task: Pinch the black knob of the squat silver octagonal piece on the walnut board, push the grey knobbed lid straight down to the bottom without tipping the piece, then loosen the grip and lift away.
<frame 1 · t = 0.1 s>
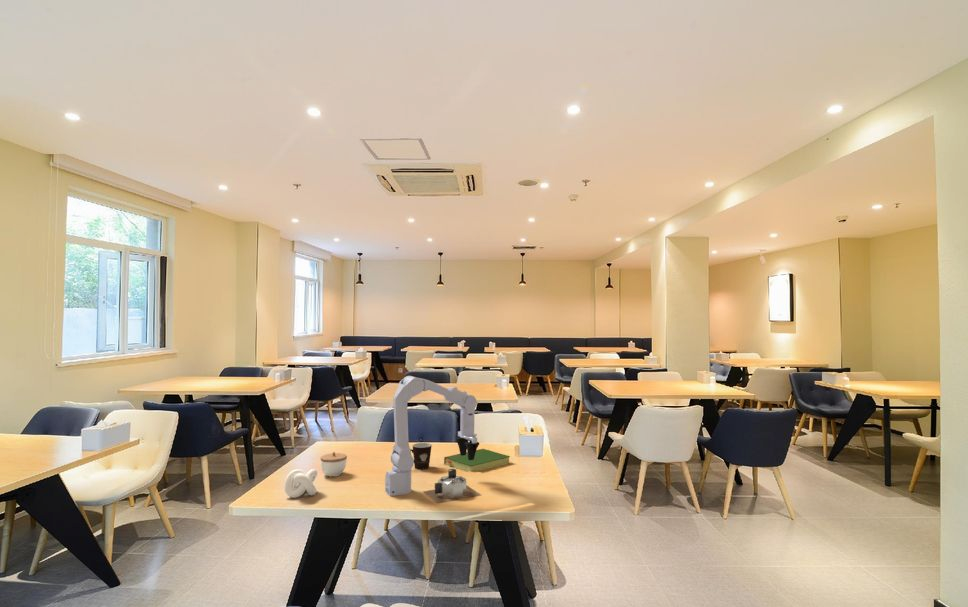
hand: (467, 457, 193), 10 cm above the table, tool pointing down, fingers open, 7 cm apart
coffee mug: (418, 467, 214), on the table
lidded jar: (333, 475, 202), on the table
hardcover book: (476, 465, 220), on the table
white knot ornament: (300, 495, 177), on the table
grey knobbed lid: (452, 476, 178), point 7 cm above the table, slide at 0.0 cm
serving board: (452, 495, 178), on the table
silver octagonal piece: (452, 493, 178), point 1 cm above the table, touching serving board
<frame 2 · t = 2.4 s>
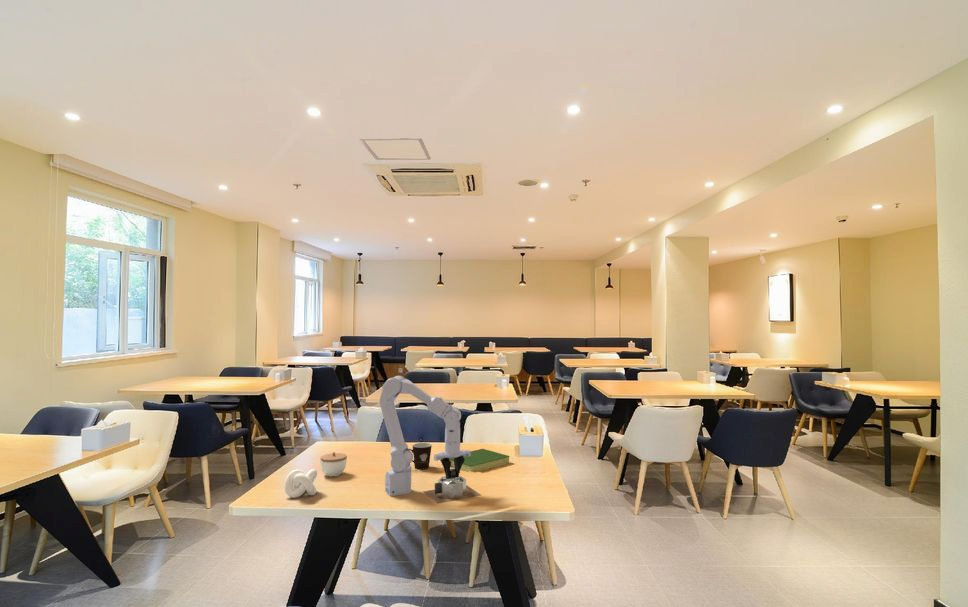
hand: (452, 477, 178), 7 cm above the table, tool pointing down, fingers closed on grey knobbed lid, 3 cm apart
grey knobbed lid: (452, 476, 178), point 7 cm above the table, slide at 0.0 cm, touching gripper
everything else where it was.
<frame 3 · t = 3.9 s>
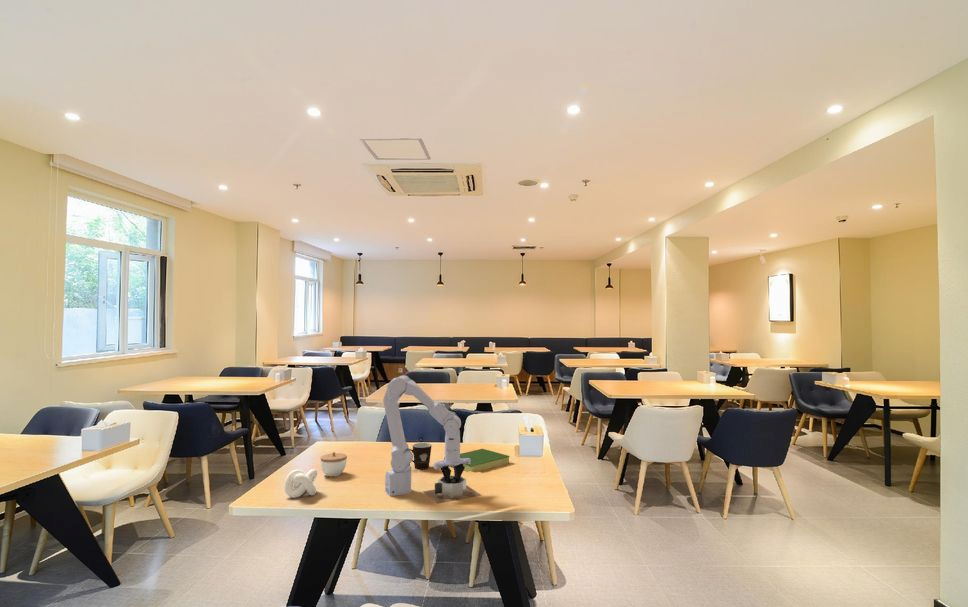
hand: (452, 485, 178), 4 cm above the table, tool pointing down, fingers closed on grey knobbed lid, 3 cm apart
grey knobbed lid: (452, 484, 178), point 4 cm above the table, slide at 3.0 cm, touching gripper
everything else where it was.
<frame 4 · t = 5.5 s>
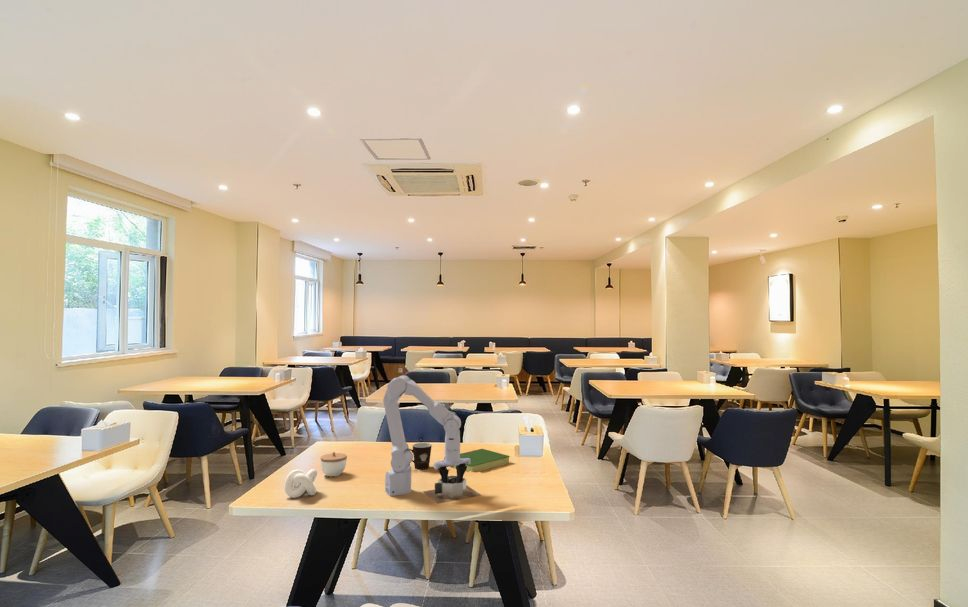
hand: (452, 485, 178), 4 cm above the table, tool pointing down, fingers open, 5 cm apart
grey knobbed lid: (452, 484, 178), point 4 cm above the table, slide at 3.0 cm
everything else where it was.
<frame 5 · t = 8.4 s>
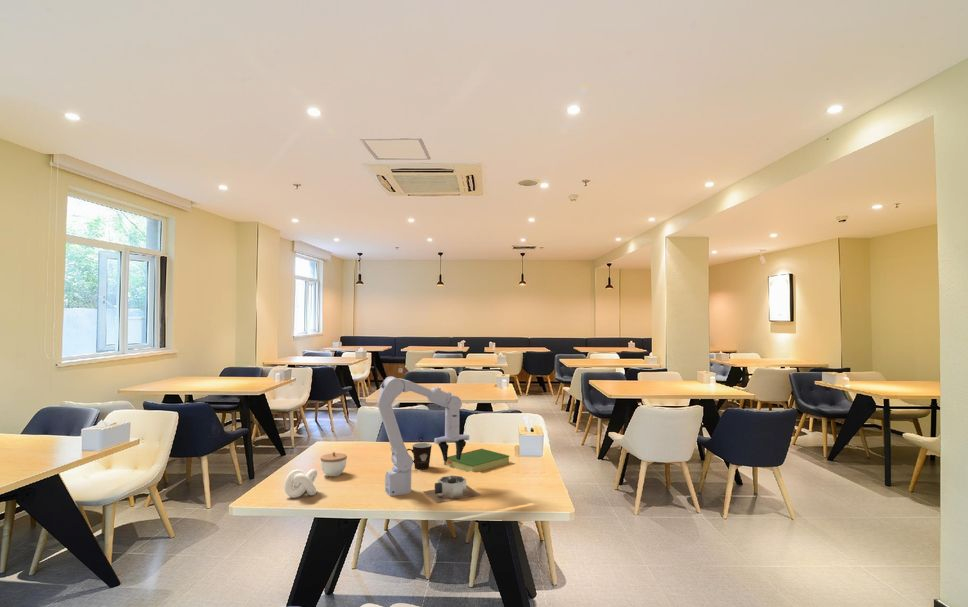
hand: (451, 460, 188), 10 cm above the table, tool pointing down, fingers open, 5 cm apart
nothing on the table moved.
at the end: grey knobbed lid slide at 3.0 cm; silver octagonal piece tilted 0°; the gripper is holding nothing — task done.
